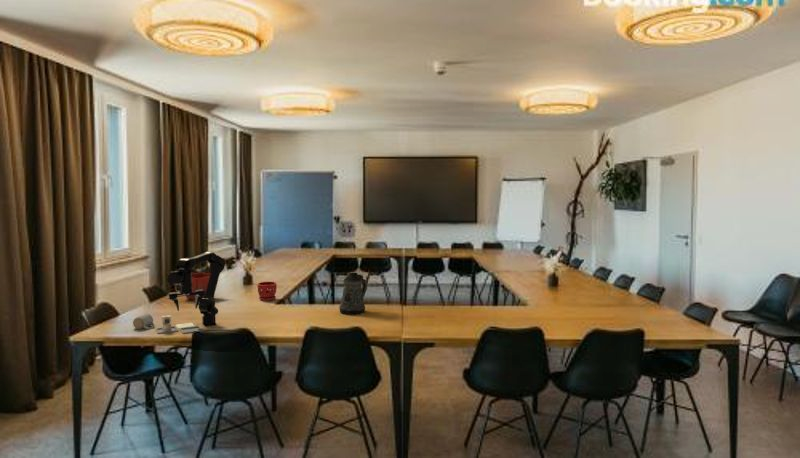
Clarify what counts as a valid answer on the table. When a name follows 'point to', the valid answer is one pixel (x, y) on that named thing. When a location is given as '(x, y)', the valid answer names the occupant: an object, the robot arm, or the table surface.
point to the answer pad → (184, 325)
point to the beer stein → (353, 295)
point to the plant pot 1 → (199, 283)
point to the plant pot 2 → (267, 290)
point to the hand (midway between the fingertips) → (187, 309)
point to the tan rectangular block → (166, 323)
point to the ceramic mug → (143, 322)
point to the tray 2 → (189, 329)
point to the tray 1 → (160, 331)
